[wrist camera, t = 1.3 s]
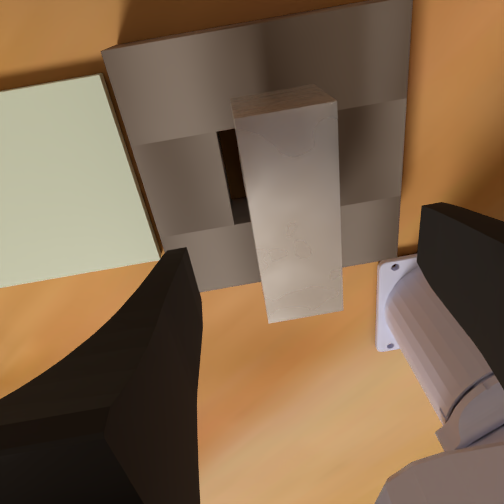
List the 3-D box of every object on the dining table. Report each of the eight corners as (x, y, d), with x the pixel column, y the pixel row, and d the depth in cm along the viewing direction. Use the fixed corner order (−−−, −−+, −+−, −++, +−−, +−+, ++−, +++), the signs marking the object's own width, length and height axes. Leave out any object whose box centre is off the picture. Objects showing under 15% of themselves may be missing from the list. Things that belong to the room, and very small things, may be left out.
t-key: (287, 64, 18) (337, 100, 11) (301, 214, 23) (343, 310, 16) (224, 75, 18) (234, 118, 11) (250, 223, 23) (268, 323, 16)
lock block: (383, -3, 17) (413, -4, 15) (377, 231, 24) (397, 257, 21) (116, 44, 17) (100, 51, 15) (182, 265, 24) (178, 296, 21)
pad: (102, 73, 18) (99, 74, 17) (161, 254, 23) (160, 259, 23) (-113, 111, 18) (-123, 113, 17) (-5, 283, 23) (-10, 289, 23)
